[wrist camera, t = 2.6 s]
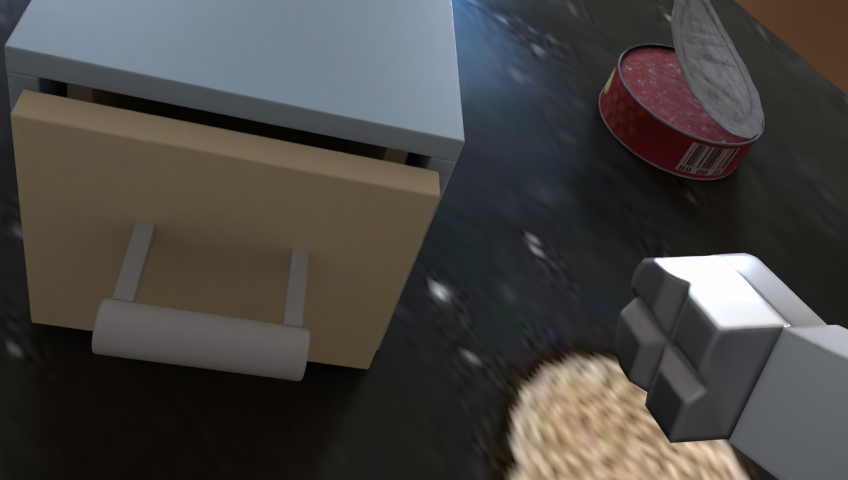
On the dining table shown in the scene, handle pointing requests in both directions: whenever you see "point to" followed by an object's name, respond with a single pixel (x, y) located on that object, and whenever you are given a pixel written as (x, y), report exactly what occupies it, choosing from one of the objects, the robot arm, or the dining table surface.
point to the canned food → (685, 99)
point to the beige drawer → (212, 233)
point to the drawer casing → (263, 65)
